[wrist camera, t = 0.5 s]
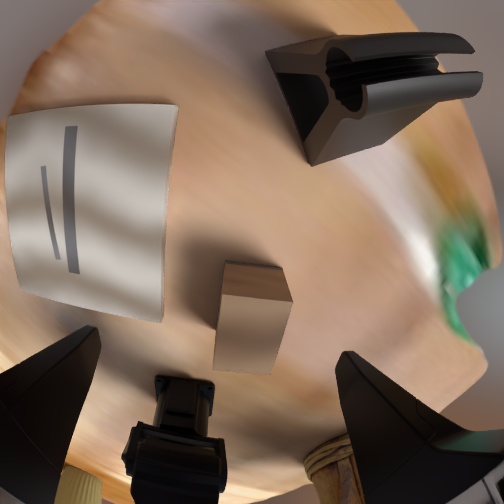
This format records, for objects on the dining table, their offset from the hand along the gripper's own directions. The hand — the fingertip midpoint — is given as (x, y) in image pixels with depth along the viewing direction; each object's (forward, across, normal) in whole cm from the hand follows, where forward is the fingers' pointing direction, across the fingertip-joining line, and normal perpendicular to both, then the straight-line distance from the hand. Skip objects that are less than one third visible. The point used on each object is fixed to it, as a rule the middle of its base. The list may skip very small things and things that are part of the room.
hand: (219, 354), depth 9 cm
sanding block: (+13, -2, +6) cm, 14 cm away
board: (+13, +13, -1) cm, 18 cm away
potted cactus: (+15, +35, +74) cm, 83 cm away
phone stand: (+12, -6, -12) cm, 18 cm away
